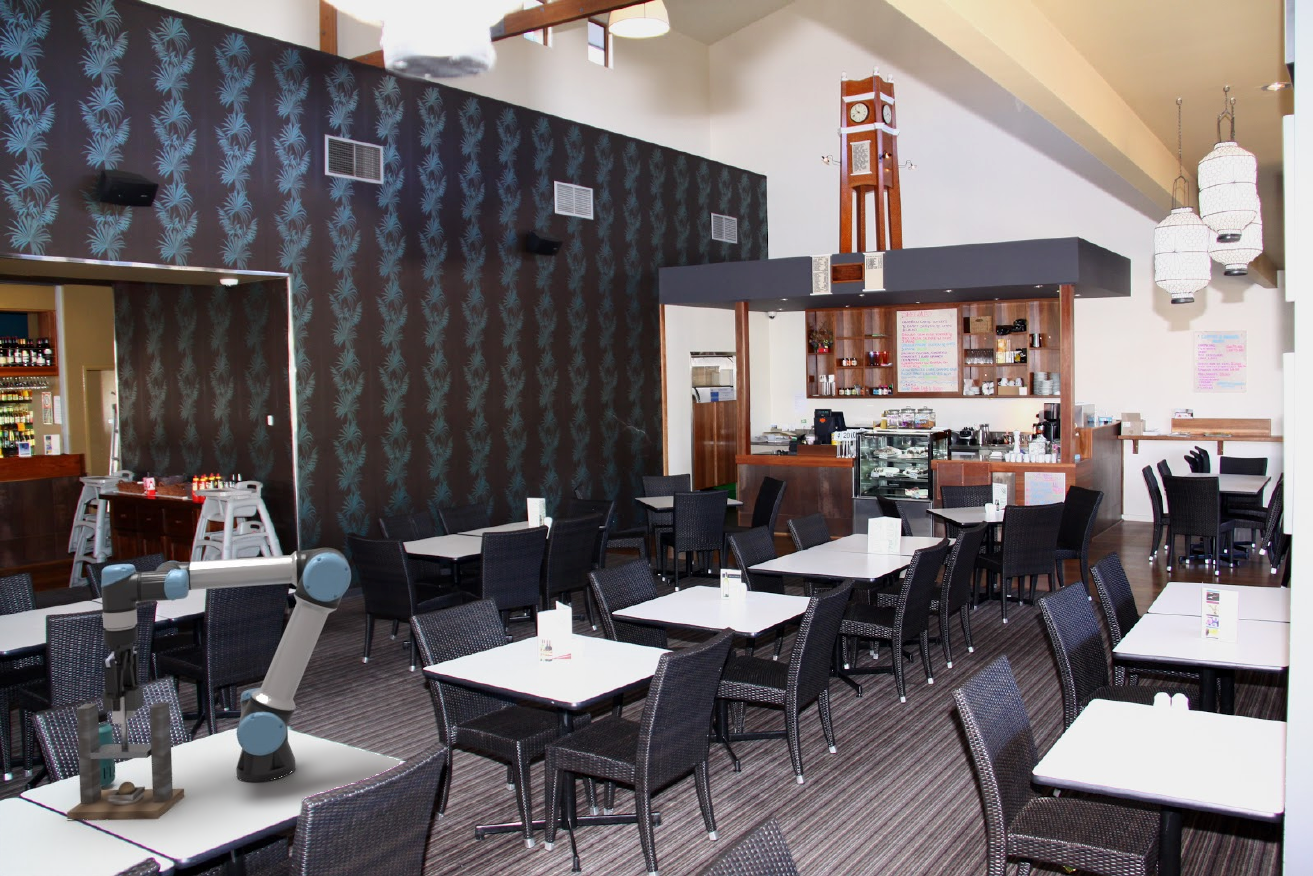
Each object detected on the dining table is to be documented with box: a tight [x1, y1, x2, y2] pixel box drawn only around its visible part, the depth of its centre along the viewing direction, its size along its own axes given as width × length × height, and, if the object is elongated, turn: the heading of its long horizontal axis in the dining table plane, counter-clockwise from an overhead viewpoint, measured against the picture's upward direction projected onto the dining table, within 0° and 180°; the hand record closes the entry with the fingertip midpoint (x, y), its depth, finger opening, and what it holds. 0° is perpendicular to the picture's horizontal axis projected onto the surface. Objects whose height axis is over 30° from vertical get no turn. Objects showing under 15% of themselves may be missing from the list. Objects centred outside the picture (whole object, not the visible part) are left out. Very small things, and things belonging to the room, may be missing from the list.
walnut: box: [118, 781, 136, 795], centre depth 254 cm, size 4×4×4 cm
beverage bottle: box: [98, 710, 116, 787], centre depth 267 cm, size 6×7×20 cm
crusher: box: [90, 685, 151, 759], centre depth 253 cm, size 14×6×16 cm, turn 90°
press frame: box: [66, 701, 185, 821], centre depth 253 cm, size 22×14×26 cm, turn 90°
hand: (123, 720), depth 253 cm, fingers closed on crusher, 4 cm apart
